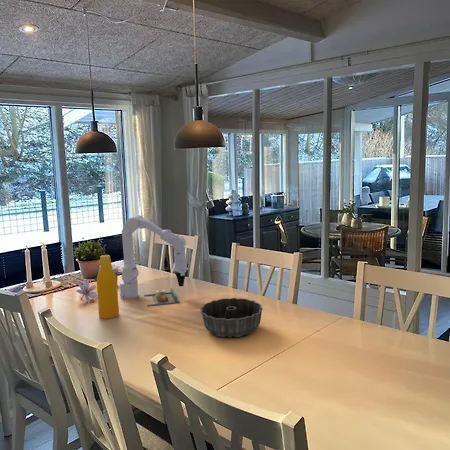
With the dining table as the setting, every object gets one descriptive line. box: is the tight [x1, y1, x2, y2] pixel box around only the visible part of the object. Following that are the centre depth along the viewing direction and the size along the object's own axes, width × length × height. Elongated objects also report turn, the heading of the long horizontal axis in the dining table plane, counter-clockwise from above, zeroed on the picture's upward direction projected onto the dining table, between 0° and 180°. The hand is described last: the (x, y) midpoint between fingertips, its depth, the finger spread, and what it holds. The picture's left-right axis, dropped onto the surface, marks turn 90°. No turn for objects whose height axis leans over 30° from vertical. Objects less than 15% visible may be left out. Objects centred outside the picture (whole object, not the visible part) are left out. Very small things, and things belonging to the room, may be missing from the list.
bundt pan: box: [199, 297, 264, 339], centre depth 186 cm, size 26×26×10 cm
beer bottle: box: [96, 254, 120, 320], centre depth 204 cm, size 9×9×29 cm
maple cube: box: [155, 288, 166, 301], centre depth 226 cm, size 4×4×4 cm
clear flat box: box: [151, 287, 178, 304], centre depth 227 cm, size 11×15×4 cm
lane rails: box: [143, 291, 180, 307], centre depth 227 cm, size 16×18×2 cm
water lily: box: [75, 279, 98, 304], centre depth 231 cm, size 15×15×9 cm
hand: (181, 285), depth 228 cm, fingers closed
